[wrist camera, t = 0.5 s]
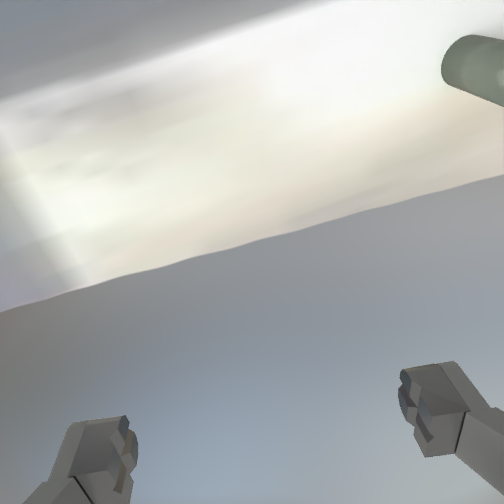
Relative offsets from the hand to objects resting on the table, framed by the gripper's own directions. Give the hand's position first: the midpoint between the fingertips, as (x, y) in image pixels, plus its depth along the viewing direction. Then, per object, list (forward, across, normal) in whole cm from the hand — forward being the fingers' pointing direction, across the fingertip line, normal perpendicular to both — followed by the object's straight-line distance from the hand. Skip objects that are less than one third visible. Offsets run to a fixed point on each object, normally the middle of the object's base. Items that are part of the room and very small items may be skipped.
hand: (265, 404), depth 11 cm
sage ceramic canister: (+35, -26, -4) cm, 44 cm away
